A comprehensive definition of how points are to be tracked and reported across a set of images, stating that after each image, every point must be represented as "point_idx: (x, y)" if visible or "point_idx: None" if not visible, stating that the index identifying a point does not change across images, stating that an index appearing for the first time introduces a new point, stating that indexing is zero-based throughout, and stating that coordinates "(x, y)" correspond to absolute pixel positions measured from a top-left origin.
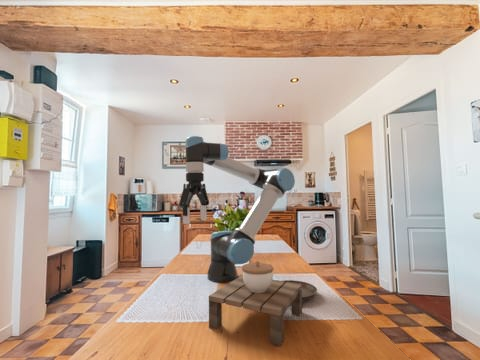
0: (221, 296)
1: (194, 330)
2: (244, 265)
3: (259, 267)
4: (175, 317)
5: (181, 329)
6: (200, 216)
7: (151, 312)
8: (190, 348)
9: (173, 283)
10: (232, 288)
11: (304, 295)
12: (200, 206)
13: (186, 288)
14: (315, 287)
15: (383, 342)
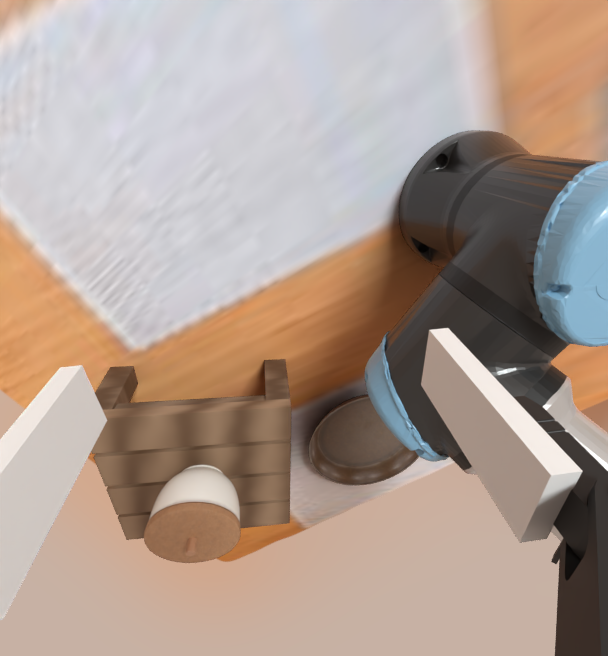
0: (100, 443)
1: (76, 349)
2: (178, 516)
3: (182, 547)
4: (85, 268)
5: (55, 322)
6: (447, 353)
7: (46, 171)
8: (21, 382)
9: (317, 15)
10: (167, 438)
11: (365, 454)
12: (536, 464)
13: (289, 135)
14: (389, 477)
15: (244, 551)
